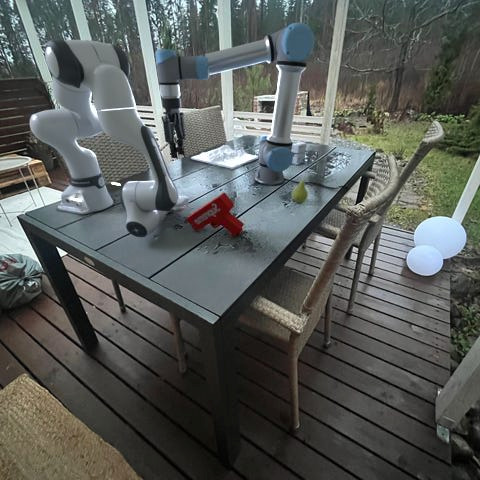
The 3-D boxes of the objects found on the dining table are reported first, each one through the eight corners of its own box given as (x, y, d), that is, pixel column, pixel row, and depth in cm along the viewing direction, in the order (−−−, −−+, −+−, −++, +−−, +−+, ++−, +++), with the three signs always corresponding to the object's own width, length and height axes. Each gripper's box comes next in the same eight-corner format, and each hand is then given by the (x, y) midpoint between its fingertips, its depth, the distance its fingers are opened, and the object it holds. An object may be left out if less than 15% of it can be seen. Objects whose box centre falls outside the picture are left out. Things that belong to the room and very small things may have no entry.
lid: (185, 150, 118) (185, 145, 117) (174, 152, 115) (173, 147, 114) (179, 148, 122) (179, 143, 121) (168, 150, 119) (168, 145, 118)
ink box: (298, 160, 174) (300, 141, 168) (304, 162, 171) (307, 142, 165) (290, 163, 169) (292, 143, 163) (296, 165, 166) (299, 145, 160)
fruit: (288, 200, 123) (290, 174, 116) (302, 197, 125) (305, 172, 119) (296, 206, 118) (299, 179, 111) (310, 203, 120) (314, 177, 114)
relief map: (233, 169, 161) (232, 160, 158) (191, 159, 178) (190, 151, 176) (258, 158, 179) (258, 150, 176) (218, 150, 197) (217, 142, 194)
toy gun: (250, 225, 97) (225, 191, 93) (246, 231, 93) (220, 196, 89) (215, 244, 107) (191, 214, 103) (210, 250, 103) (185, 219, 99)
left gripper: (181, 202, 98) (192, 188, 110) (128, 199, 101) (145, 186, 113) (183, 218, 102) (194, 202, 113) (132, 214, 105) (148, 200, 116)
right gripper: (174, 94, 116) (180, 150, 128) (148, 99, 101) (159, 161, 114) (190, 95, 114) (195, 151, 126) (166, 99, 99) (174, 162, 112)
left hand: (169, 194), depth 113 cm, fingers closed on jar, 4 cm apart
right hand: (178, 156), depth 120 cm, fingers closed on lid, 5 cm apart
